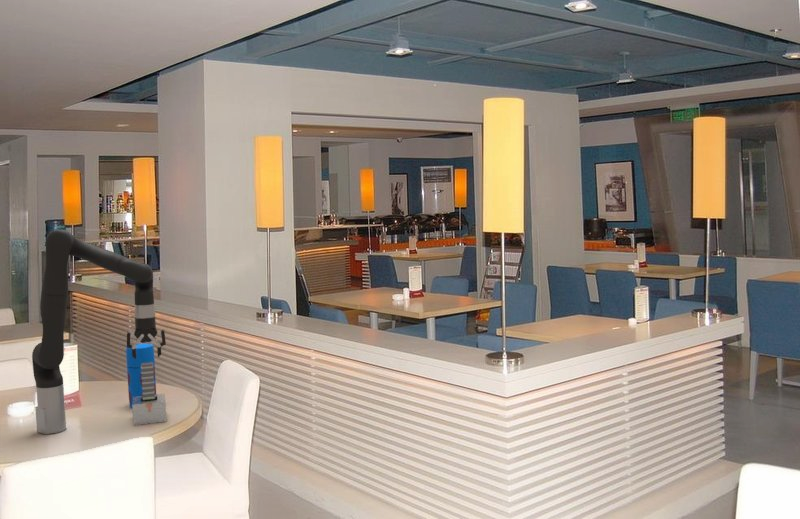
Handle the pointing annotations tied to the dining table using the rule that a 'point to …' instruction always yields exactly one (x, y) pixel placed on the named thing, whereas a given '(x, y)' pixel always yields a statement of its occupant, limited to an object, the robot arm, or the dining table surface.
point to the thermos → (138, 368)
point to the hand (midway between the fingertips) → (146, 357)
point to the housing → (149, 410)
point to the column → (147, 381)
